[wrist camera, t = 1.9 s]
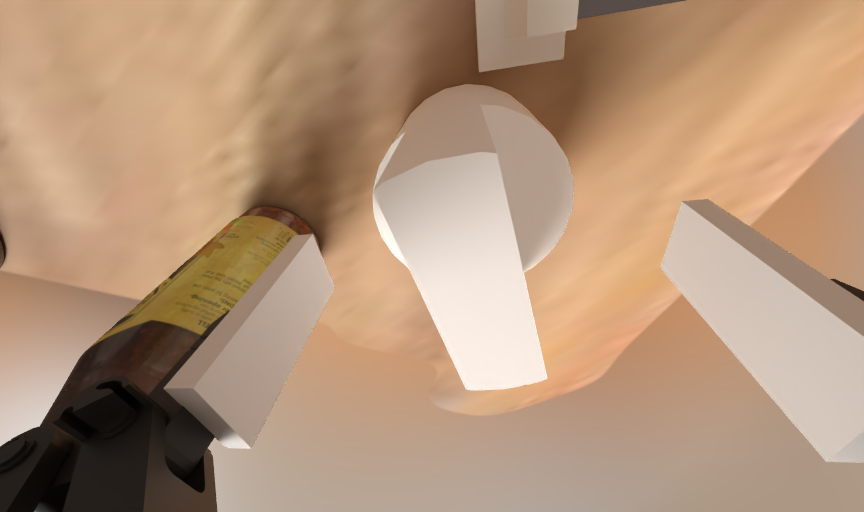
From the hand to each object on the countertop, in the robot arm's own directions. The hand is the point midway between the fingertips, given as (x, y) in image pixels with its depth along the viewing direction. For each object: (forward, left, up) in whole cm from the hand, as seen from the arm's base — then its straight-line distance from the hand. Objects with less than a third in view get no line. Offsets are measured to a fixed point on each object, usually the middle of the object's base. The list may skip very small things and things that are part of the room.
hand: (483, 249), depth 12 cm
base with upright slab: (0, 0, -9) cm, 9 cm away
